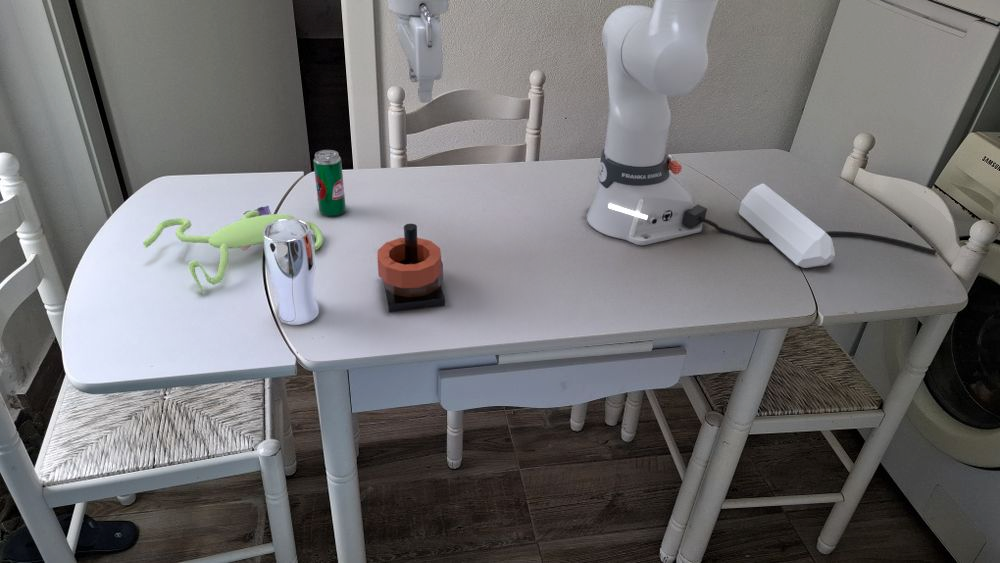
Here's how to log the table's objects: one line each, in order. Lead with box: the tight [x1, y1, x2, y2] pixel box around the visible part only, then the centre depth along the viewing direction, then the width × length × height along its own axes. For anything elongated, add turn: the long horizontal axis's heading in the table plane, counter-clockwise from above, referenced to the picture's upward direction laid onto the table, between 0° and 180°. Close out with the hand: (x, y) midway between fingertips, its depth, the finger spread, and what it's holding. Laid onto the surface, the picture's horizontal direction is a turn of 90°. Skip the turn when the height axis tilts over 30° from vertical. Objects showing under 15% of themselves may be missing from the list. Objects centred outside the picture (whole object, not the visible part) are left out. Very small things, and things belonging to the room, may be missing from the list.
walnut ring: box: [380, 260, 444, 298], centre depth 112 cm, size 10×10×3 cm
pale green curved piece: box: [142, 205, 324, 295], centre depth 119 cm, size 18×27×6 cm
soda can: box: [312, 149, 347, 218], centre depth 130 cm, size 5×5×12 cm
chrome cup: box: [262, 218, 320, 326], centre depth 102 cm, size 7×7×15 cm
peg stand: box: [382, 223, 446, 313], centre depth 109 cm, size 9×9×12 cm
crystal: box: [738, 182, 836, 269], centre depth 131 cm, size 7×7×24 cm
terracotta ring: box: [376, 237, 442, 288], centre depth 108 cm, size 10×10×3 cm
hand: (420, 90), depth 107 cm, fingers open, 8 cm apart
